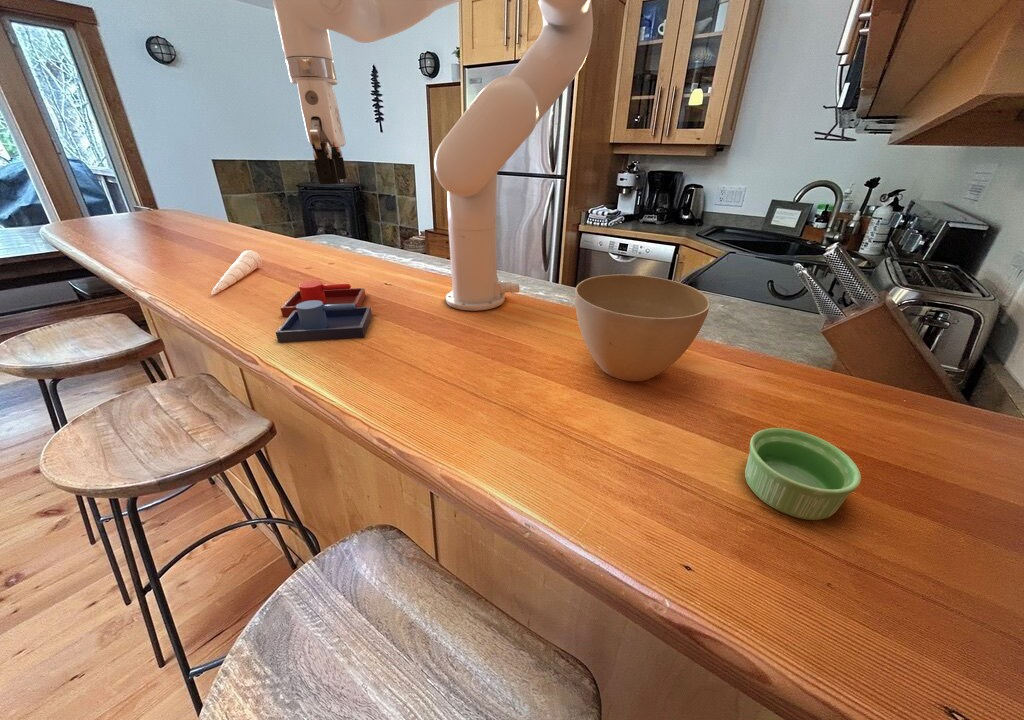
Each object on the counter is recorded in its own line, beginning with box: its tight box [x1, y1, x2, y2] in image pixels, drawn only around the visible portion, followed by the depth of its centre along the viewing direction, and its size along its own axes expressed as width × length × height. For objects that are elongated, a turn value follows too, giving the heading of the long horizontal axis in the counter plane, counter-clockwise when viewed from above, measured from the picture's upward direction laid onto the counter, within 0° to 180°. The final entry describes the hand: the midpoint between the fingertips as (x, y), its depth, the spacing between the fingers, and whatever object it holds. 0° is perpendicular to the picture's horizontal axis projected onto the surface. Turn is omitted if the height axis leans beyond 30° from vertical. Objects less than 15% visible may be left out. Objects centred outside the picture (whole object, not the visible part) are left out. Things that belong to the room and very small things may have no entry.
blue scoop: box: [296, 300, 356, 330], centre depth 75 cm, size 10×4×4 cm, turn 99°
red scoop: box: [298, 280, 352, 305], centre depth 85 cm, size 10×4×4 cm, turn 99°
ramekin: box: [744, 427, 862, 521], centre depth 40 cm, size 9×9×4 cm
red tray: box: [280, 287, 367, 318], centre depth 86 cm, size 14×10×2 cm
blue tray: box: [275, 306, 373, 343], centre depth 75 cm, size 14×10×2 cm
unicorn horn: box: [210, 249, 263, 296], centre depth 100 cm, size 5×24×5 cm, turn 5°
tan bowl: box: [574, 273, 711, 382], centre depth 60 cm, size 18×18×12 cm
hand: (334, 181), depth 79 cm, fingers open, 9 cm apart
